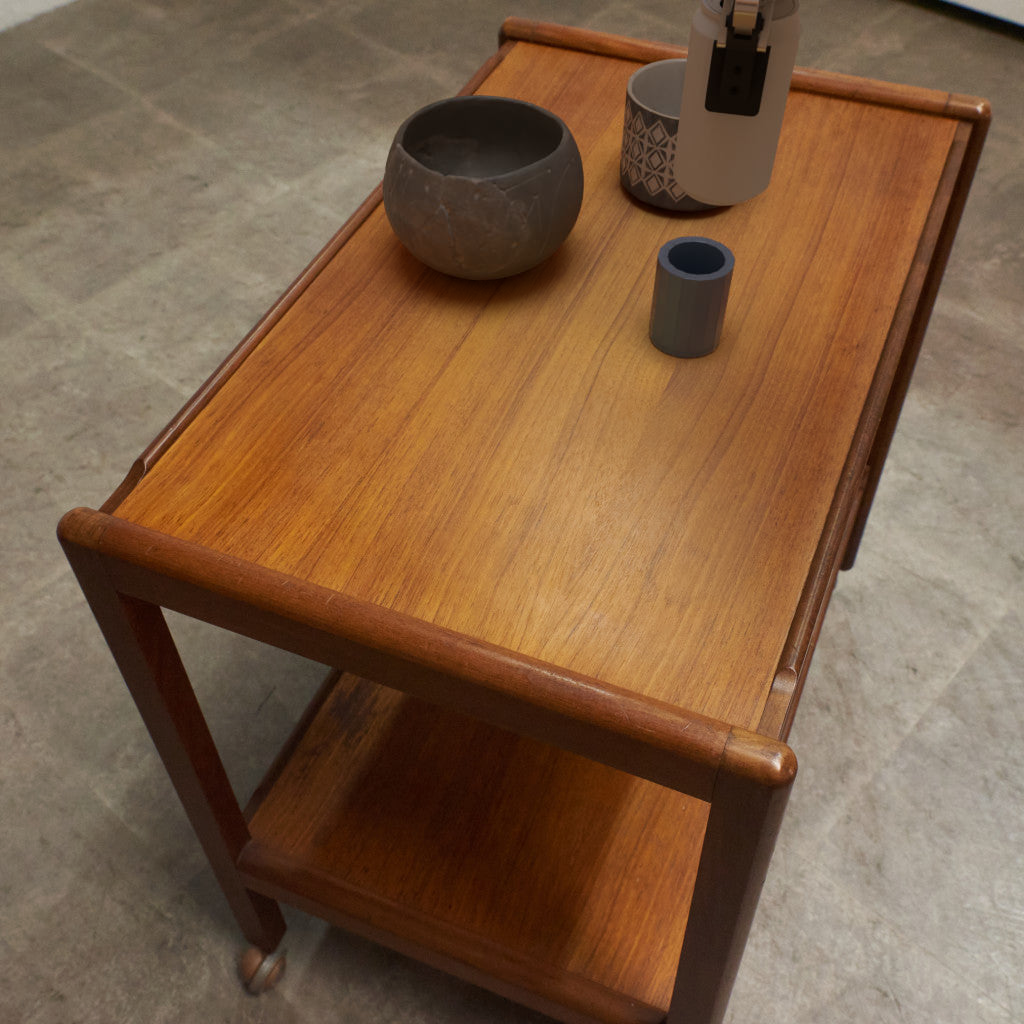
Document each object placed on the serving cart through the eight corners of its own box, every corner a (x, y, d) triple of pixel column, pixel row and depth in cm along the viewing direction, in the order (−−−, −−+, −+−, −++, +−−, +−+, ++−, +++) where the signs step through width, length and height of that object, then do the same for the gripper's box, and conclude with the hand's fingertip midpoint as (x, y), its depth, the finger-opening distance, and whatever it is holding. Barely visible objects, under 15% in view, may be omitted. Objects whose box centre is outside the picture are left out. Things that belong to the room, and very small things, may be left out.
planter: (739, 157, 113) (757, 60, 105) (745, 224, 104) (764, 124, 96) (620, 151, 113) (628, 54, 106) (616, 217, 105) (625, 117, 97)
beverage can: (652, 175, 71) (673, -11, 62) (731, 151, 73) (761, -32, 64) (708, 222, 67) (738, 31, 58) (788, 196, 69) (829, 8, 61)
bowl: (358, 290, 97) (342, 163, 87) (434, 190, 108) (427, 68, 99) (543, 332, 93) (547, 203, 83) (602, 224, 104) (611, 100, 95)
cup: (724, 319, 94) (739, 242, 88) (715, 363, 90) (730, 285, 84) (655, 308, 95) (664, 231, 89) (643, 351, 91) (652, 273, 85)
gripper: (871, -219, 46) (789, 163, 59) (877, -306, 57) (807, 31, 70) (696, -231, 47) (655, 146, 60) (736, -314, 58) (694, 19, 71)
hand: (737, 81), depth 65 cm, fingers closed on beverage can, 6 cm apart
